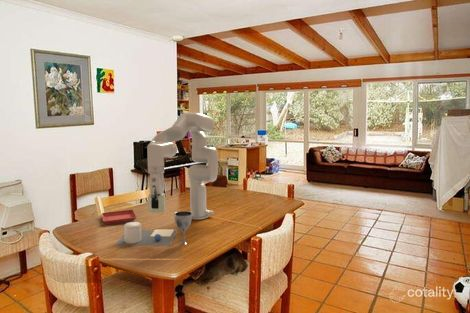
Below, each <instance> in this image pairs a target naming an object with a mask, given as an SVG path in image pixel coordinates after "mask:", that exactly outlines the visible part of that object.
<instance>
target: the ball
mask: <svg viewBox="0 0 470 313" xmlns="http://www.w3.org/2000/svg"><path fill="white" fill-rule="evenodd" d="M154 238H155V240H157V241H159V240H160V239H161V235H160V234H156V235H155V236H154Z"/></svg>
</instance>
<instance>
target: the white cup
mask: <svg viewBox="0 0 470 313" xmlns="http://www.w3.org/2000/svg"><path fill="white" fill-rule="evenodd" d="M141 230H142V223H140V222H138V221H133V222H126V223H125V224H124V226H123V235H124V242H126V243H136V242H140V241H141V239H142V232H141Z"/></svg>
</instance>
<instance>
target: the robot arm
mask: <svg viewBox="0 0 470 313" xmlns="http://www.w3.org/2000/svg"><path fill="white" fill-rule="evenodd" d="M214 128H215V121H214V119H213V118H212V116H209V115H206V114H204V113H201V112H184V113H182V114H180V116H179V117H178V118H177V119H176V121H175V122H174V123H173V124H172V126H171V127H169V128H167V129H165V130H163V131H161V132H158V134H156V135H155V136H154V137H153V138H152V140H151V141H150V142H149V143H148V144H147V152H146V153H147V154H146V155H147V173H148V175H149V194H151V206H152V209H158V208H159V202H158V194H159V195H160V194H161V193H164V191H165V180H164V178H165V176H164V174H165V158H172V157H175V156H176V154H177V152H178V147H177V145H176V144H175V143H174V142H178V141H180V140H183V139H184V138H185V137H186V136H187V134H188V132H189V133H190V136H191V159H192V161H193V162H194V163H201V164H192V165H190V166H189V168H188V170H187V176H188V178H189V180H188V181H189V195H190V198H189V200H190V201H189V202H190V203H189V204H190V206H189V207H190V212H191V213H192V219H191V220H194V221H195V220H196V221H198V220H206V219H207V218H209V216H210V215H214V210H212V209H211V210H208V208H207V187H206V184H205V182H207V183H208V182H209V183H214V182H215V181H217V178H218V174H219V173H218V172H219V171H218V170H219V152H218V150H217V148H216V147H214V146H213V147H212V146H207V143H208V142H207V136H206V134H205V133H206V132H212V131H213V129H214ZM204 132H205V133H204ZM205 164H206V165H205ZM155 195H156V196H155Z"/></svg>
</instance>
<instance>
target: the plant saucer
mask: <svg viewBox="0 0 470 313" xmlns="http://www.w3.org/2000/svg"><path fill="white" fill-rule="evenodd" d="M101 216H102V222H103V223H104V224H105V225H117V224H124V223H125V224H126V223H129V222H135V220H136V219H137V215H136V213H135V211H134V209H125V210H117V211H116V210H115V211H107V212H106V211H105V212H102V213H101Z"/></svg>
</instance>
